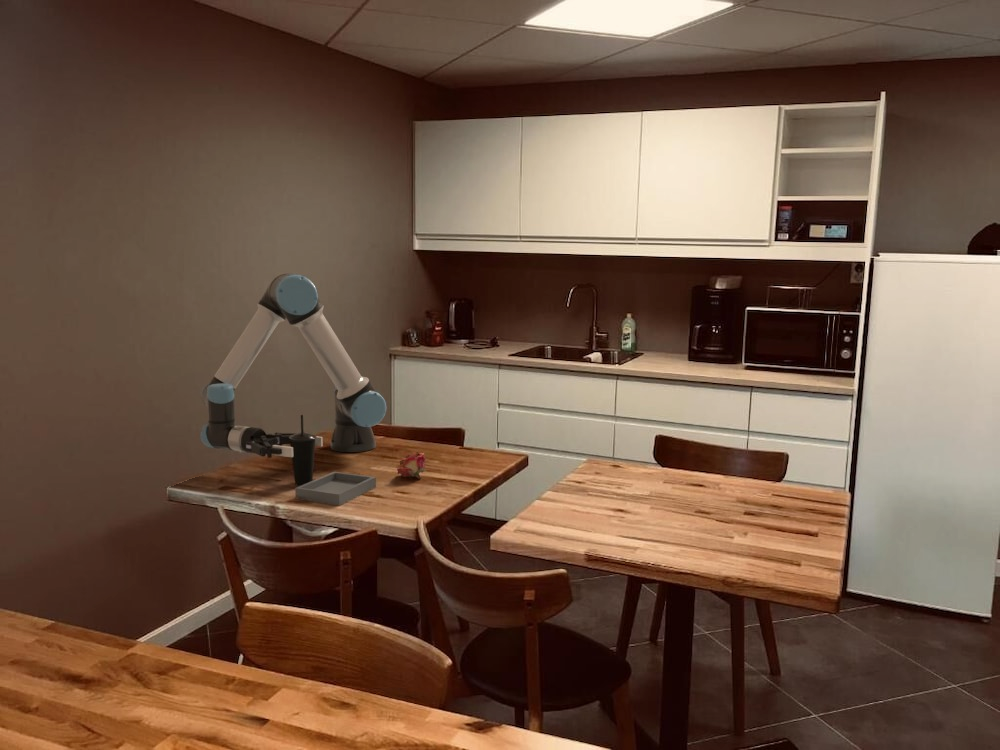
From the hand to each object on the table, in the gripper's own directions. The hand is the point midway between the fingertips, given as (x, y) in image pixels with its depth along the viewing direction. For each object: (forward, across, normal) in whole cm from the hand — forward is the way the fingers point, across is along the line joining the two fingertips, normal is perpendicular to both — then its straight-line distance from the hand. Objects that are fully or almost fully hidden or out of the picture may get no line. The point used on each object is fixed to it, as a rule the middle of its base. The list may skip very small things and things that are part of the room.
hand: (307, 446), depth 226 cm
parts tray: (+12, +4, -11) cm, 17 cm away
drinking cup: (-2, 0, -11) cm, 11 cm away
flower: (+23, -18, -11) cm, 32 cm away
